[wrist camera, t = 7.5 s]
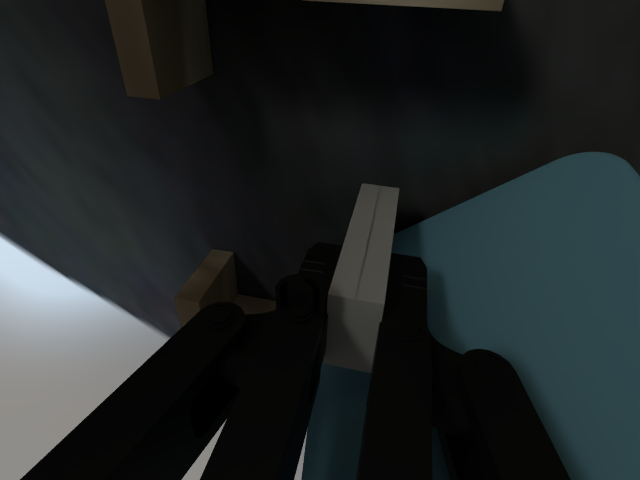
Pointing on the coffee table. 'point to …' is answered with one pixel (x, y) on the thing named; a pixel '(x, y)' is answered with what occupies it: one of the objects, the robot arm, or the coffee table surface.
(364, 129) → the coffee table surface
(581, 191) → the data package
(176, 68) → the shelf bay
